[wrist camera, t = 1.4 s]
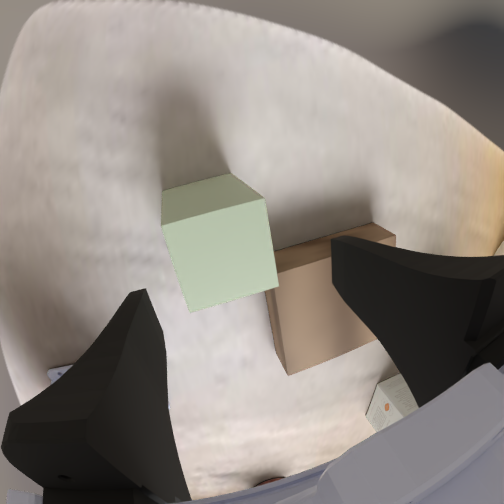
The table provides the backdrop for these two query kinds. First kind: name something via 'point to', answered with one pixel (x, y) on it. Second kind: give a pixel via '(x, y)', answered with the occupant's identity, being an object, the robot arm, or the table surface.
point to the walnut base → (315, 303)
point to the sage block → (218, 240)
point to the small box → (390, 403)
